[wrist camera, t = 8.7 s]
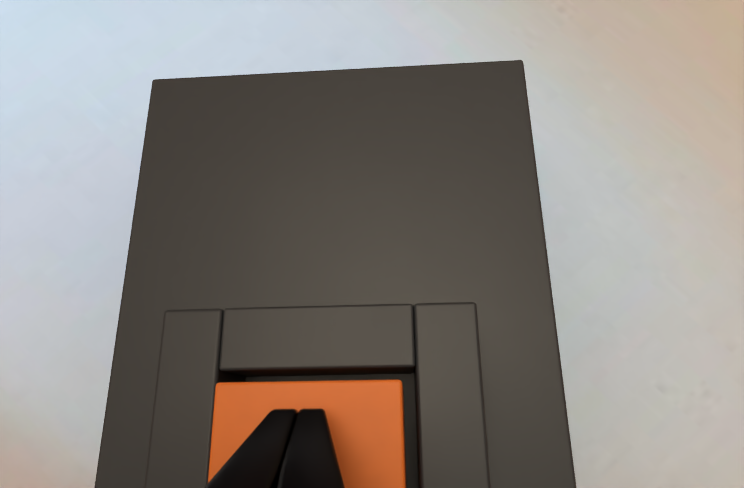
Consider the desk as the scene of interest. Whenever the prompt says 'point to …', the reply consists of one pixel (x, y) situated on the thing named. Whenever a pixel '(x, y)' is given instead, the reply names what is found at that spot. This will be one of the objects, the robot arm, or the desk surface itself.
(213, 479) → the robot arm
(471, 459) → the grey socket base
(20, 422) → the desk surface
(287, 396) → the orange cube
